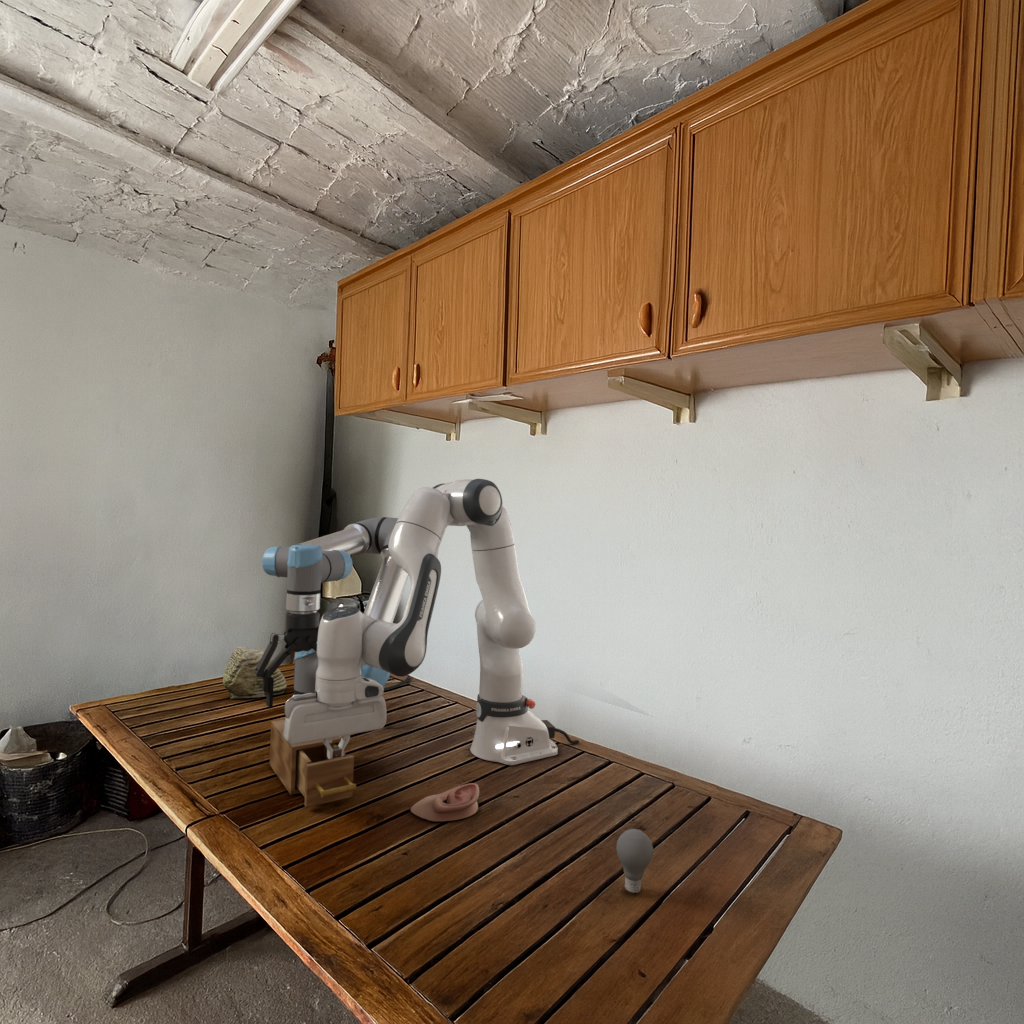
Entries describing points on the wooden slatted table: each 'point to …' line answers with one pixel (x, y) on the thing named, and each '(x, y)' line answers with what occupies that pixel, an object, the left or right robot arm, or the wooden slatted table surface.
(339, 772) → the drawer
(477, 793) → the anatomical model
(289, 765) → the cabinet
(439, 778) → the wooden slatted table surface
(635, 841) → the light bulb
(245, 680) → the fossil
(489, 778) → the wooden slatted table surface
